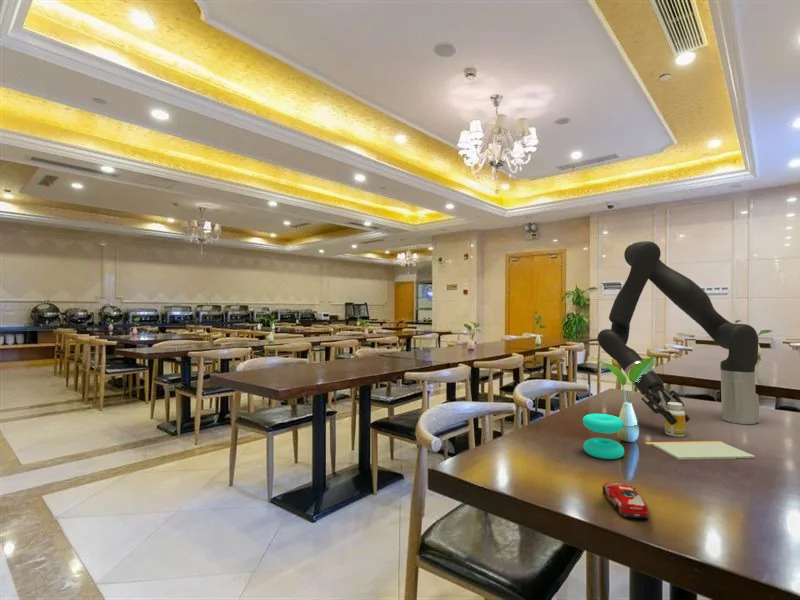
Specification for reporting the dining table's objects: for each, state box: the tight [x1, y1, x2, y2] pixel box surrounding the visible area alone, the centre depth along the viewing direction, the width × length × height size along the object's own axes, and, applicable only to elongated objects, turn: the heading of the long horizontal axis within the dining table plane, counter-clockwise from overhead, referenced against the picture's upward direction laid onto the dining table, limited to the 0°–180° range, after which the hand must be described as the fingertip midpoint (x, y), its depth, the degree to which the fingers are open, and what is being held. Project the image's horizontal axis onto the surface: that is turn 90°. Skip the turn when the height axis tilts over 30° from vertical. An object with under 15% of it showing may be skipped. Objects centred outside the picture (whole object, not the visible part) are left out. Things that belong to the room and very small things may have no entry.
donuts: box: [582, 413, 625, 460], centre depth 114 cm, size 10×10×10 cm
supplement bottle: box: [664, 401, 687, 438], centre depth 130 cm, size 5×5×10 cm
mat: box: [652, 442, 756, 461], centre depth 114 cm, size 20×11×1 cm, turn 90°
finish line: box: [644, 440, 725, 446], centre depth 121 cm, size 22×2×1 cm, turn 90°
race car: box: [602, 481, 649, 519], centre depth 85 cm, size 13×5×4 cm, turn 170°
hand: (680, 422), depth 128 cm, fingers closed on supplement bottle, 5 cm apart
